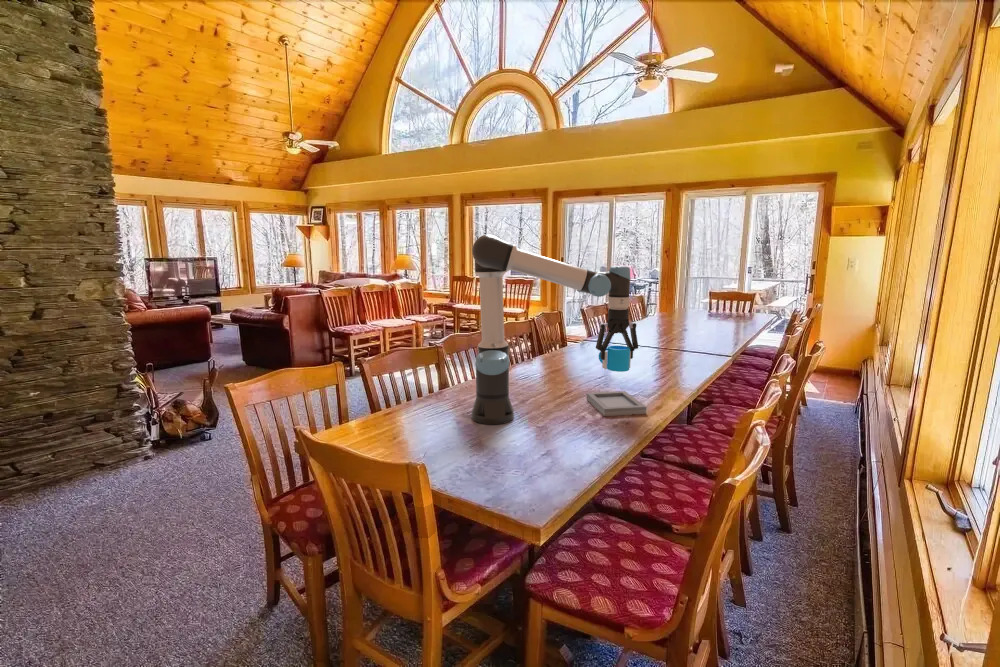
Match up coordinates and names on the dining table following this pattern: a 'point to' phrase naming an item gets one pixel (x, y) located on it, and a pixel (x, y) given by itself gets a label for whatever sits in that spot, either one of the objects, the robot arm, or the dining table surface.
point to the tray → (616, 403)
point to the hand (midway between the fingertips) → (616, 367)
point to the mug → (617, 358)
